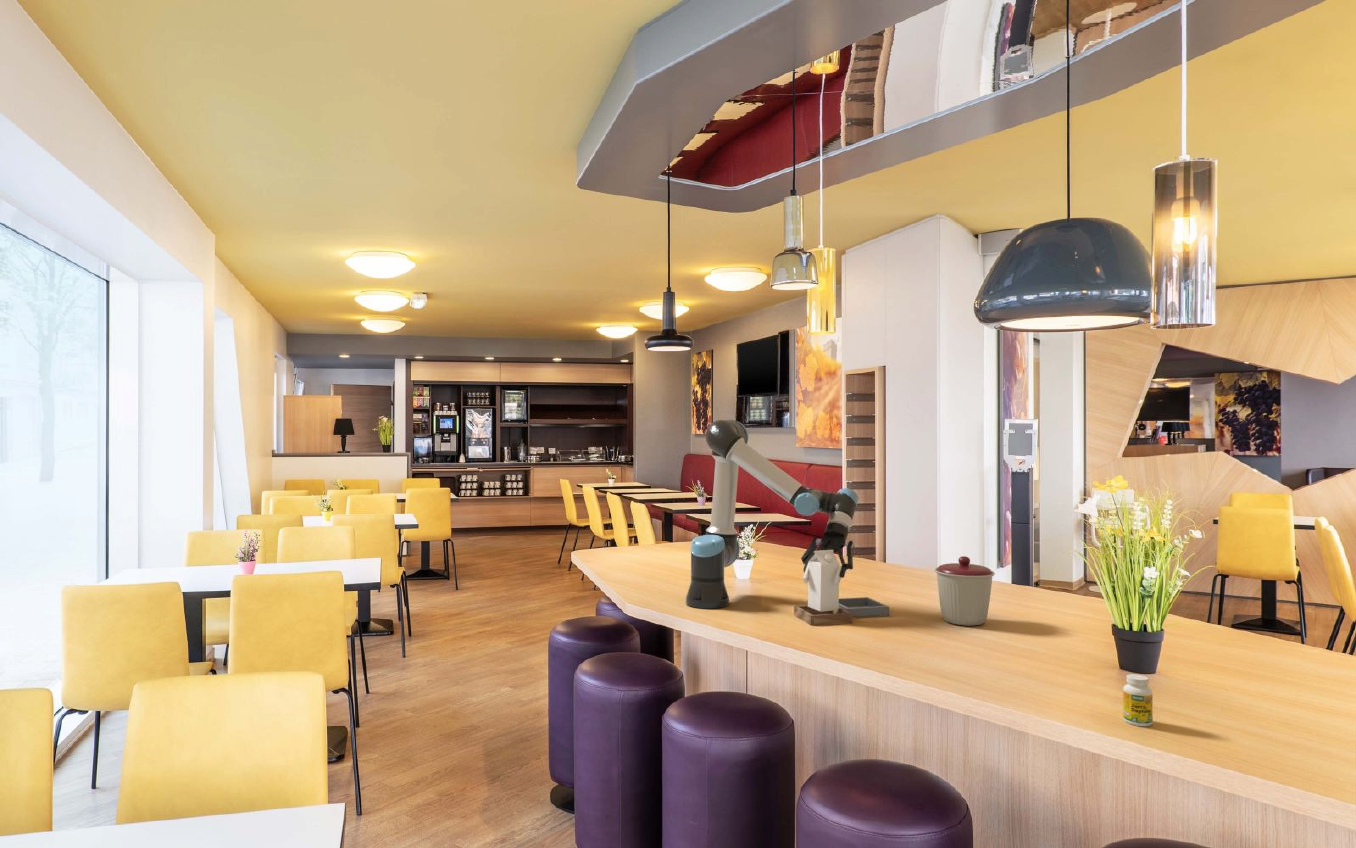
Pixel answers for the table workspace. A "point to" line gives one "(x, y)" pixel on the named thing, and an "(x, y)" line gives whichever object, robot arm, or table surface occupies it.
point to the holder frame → (822, 616)
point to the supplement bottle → (1137, 701)
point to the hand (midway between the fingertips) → (820, 582)
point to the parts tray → (863, 607)
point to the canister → (964, 592)
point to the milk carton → (823, 581)
